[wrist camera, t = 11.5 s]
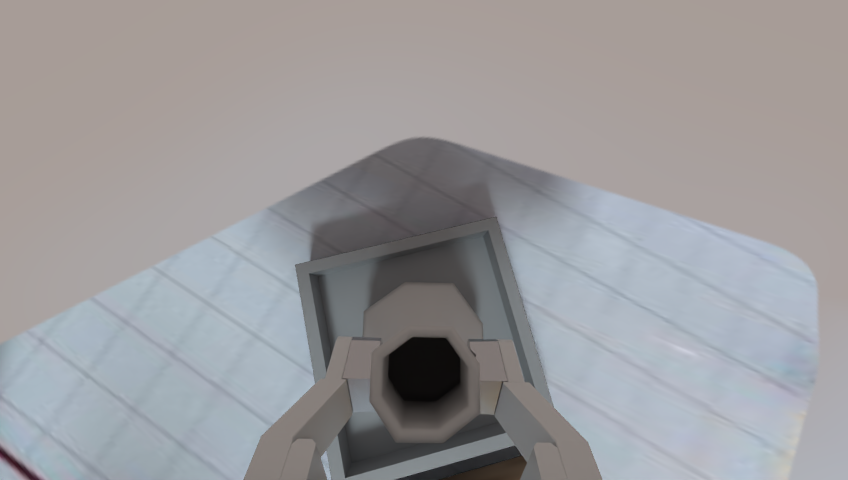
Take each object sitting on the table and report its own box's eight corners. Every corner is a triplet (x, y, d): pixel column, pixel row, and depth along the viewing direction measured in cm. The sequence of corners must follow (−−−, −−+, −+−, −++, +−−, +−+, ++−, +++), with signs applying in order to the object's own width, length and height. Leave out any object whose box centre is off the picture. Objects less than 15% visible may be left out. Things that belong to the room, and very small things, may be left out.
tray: (345, 472, 19) (334, 496, 17) (309, 269, 22) (295, 264, 19) (544, 417, 20) (561, 432, 18) (487, 226, 22) (496, 216, 20)
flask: (345, 300, 19) (267, 294, 9) (462, 264, 20) (503, 222, 10) (379, 429, 18) (328, 579, 8) (503, 387, 18) (598, 479, 9)
